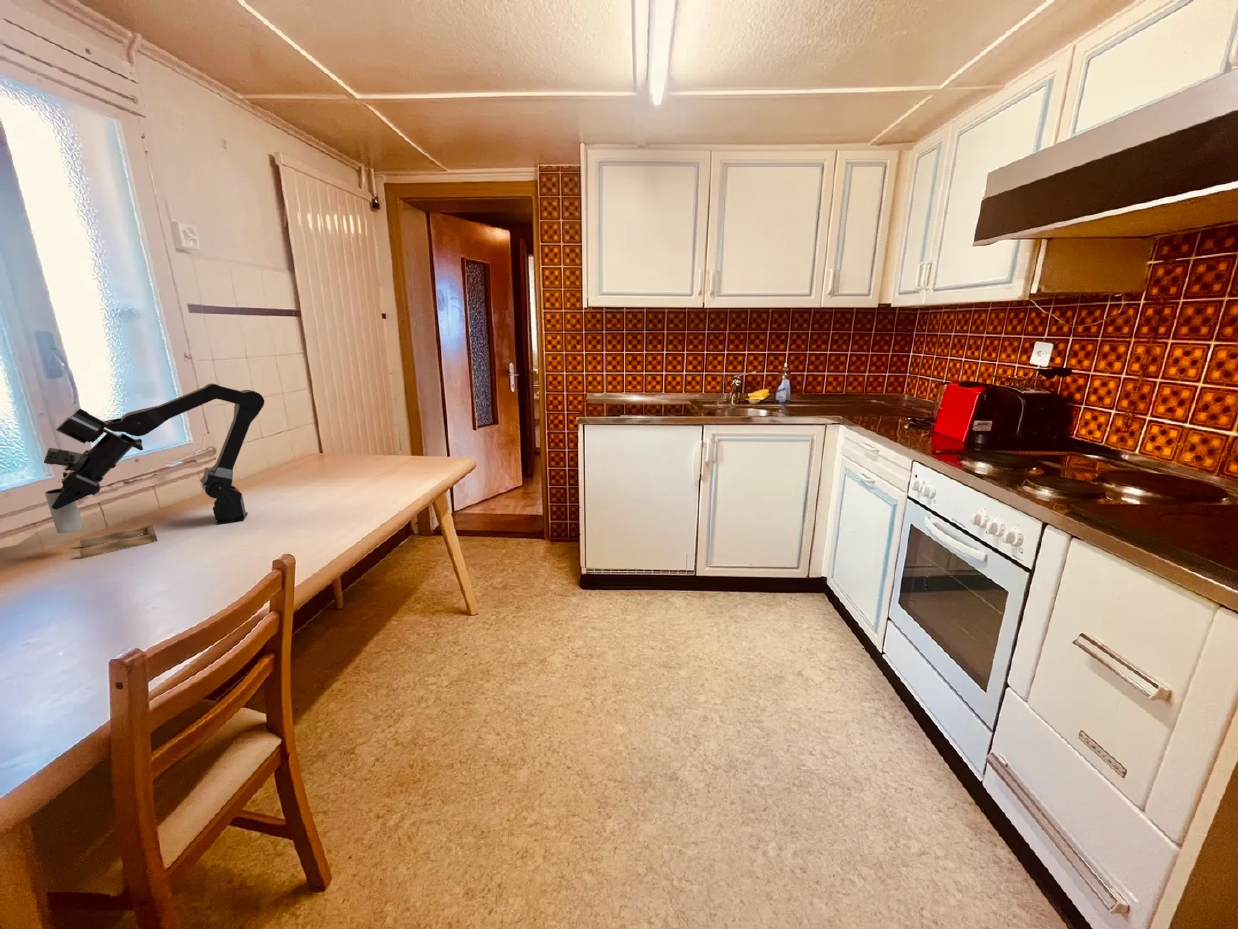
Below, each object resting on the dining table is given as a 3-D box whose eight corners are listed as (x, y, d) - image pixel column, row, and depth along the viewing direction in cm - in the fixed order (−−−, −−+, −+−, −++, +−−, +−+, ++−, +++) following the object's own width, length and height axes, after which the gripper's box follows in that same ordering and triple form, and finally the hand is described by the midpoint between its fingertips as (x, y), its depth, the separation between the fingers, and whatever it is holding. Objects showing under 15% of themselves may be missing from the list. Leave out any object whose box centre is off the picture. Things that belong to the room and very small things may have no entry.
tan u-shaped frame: (154, 531, 139) (152, 524, 139) (157, 541, 133) (155, 534, 132) (81, 547, 130) (79, 539, 129) (81, 558, 123) (79, 551, 122)
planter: (66, 534, 122) (53, 493, 119) (52, 532, 123) (39, 492, 120) (88, 527, 126) (77, 488, 123) (74, 526, 127) (63, 487, 124)
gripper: (67, 430, 127) (14, 481, 122) (65, 441, 115) (6, 498, 110) (118, 455, 135) (70, 503, 130) (121, 467, 122) (68, 522, 117)
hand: (54, 506), depth 122 cm, fingers closed on planter, 5 cm apart
